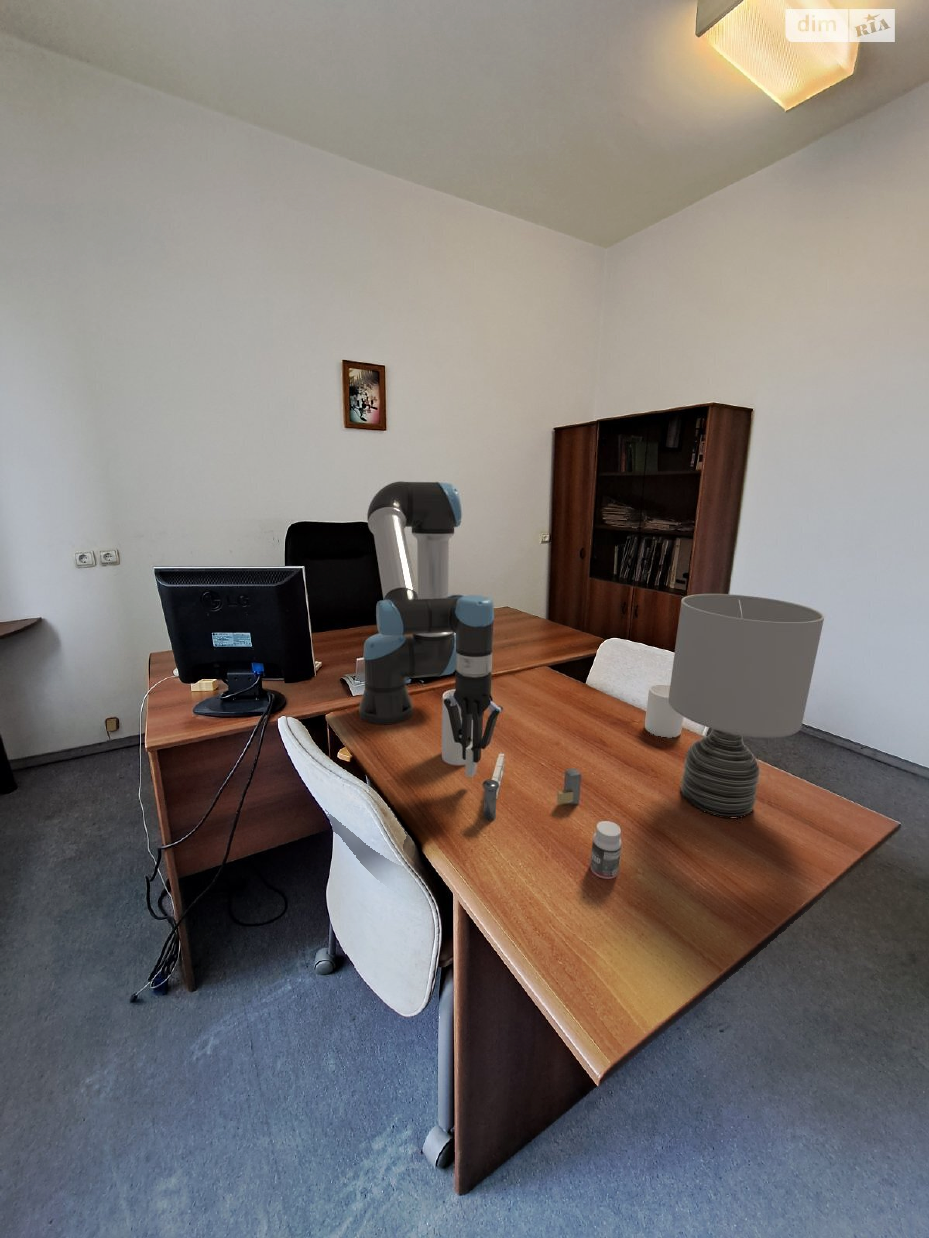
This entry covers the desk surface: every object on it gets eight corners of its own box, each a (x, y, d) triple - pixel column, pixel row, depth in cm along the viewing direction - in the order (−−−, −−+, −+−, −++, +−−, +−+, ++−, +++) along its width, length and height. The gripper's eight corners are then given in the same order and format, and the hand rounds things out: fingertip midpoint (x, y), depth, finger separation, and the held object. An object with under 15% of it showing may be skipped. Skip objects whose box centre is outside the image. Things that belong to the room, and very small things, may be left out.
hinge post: (479, 813, 101) (480, 781, 99) (494, 810, 102) (495, 778, 100) (484, 823, 98) (486, 790, 96) (500, 820, 99) (501, 787, 97)
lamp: (731, 851, 92) (772, 629, 81) (633, 784, 113) (655, 599, 102) (807, 815, 103) (852, 614, 92) (705, 759, 123) (732, 590, 113)
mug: (658, 740, 132) (664, 699, 129) (631, 721, 143) (636, 682, 140) (688, 736, 135) (694, 696, 132) (659, 717, 146) (664, 679, 143)
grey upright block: (552, 801, 106) (554, 771, 104) (573, 797, 107) (575, 768, 105) (559, 810, 103) (561, 779, 101) (580, 805, 104) (583, 775, 103)
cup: (472, 767, 118) (473, 704, 114) (438, 763, 119) (438, 700, 115) (478, 750, 126) (479, 690, 122) (446, 746, 127) (446, 687, 123)
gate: (494, 810, 102) (495, 788, 101) (488, 809, 102) (489, 787, 101) (503, 773, 115) (504, 754, 114) (498, 772, 115) (499, 753, 114)
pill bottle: (586, 860, 89) (590, 819, 87) (612, 859, 89) (616, 818, 87) (595, 880, 85) (599, 837, 82) (622, 879, 85) (627, 836, 83)
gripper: (437, 671, 103) (436, 774, 109) (495, 682, 97) (491, 790, 103) (453, 661, 110) (452, 758, 115) (509, 670, 104) (505, 772, 110)
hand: (471, 773), depth 109 cm, fingers closed
